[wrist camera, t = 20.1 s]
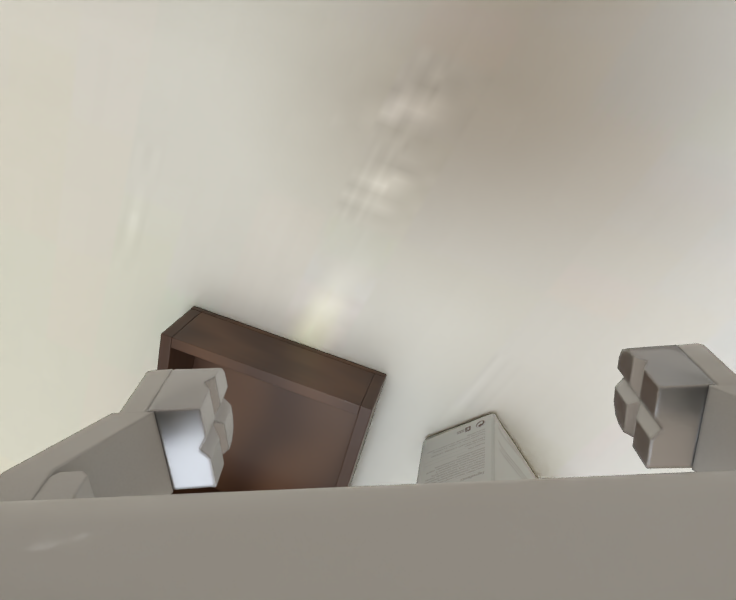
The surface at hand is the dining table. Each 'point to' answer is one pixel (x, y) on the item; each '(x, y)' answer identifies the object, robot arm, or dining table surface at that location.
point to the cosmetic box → (472, 455)
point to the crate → (278, 404)
